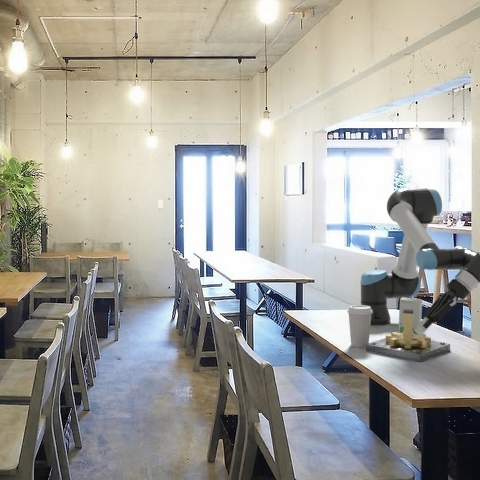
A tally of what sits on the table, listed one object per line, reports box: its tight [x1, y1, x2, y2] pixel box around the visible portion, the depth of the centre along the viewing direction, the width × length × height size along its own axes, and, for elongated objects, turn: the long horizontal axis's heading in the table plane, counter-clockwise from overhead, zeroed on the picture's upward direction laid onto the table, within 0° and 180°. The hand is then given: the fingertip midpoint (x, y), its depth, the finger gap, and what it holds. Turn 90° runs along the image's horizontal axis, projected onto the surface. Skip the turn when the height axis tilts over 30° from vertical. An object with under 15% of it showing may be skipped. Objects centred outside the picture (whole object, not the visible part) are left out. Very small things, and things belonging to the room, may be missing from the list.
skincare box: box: [398, 297, 423, 334], centre depth 237 cm, size 8×7×16 cm
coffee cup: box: [346, 304, 373, 349], centre depth 222 cm, size 10×10×15 cm
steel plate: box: [365, 330, 451, 363], centre depth 215 cm, size 22×22×7 cm
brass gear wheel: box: [385, 309, 432, 349], centre depth 214 cm, size 16×16×13 cm
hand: (416, 333), depth 208 cm, fingers closed
